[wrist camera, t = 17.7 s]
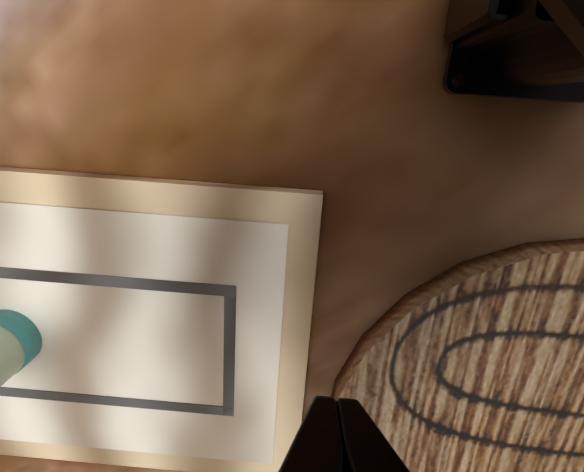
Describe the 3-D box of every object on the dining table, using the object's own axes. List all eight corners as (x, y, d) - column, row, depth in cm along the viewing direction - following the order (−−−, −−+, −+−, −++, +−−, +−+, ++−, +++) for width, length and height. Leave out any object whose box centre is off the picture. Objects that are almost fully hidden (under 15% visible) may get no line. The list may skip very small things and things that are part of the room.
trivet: (668, 580, 26) (695, 614, 24) (314, 553, 27) (314, 585, 25) (851, 247, 18) (911, 262, 16) (340, 224, 19) (343, 235, 17)
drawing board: (322, 190, 18) (323, 196, 17) (296, 466, 24) (295, 485, 22) (-157, 154, 18) (-189, 157, 17) (-69, 433, 24) (-89, 450, 23)
